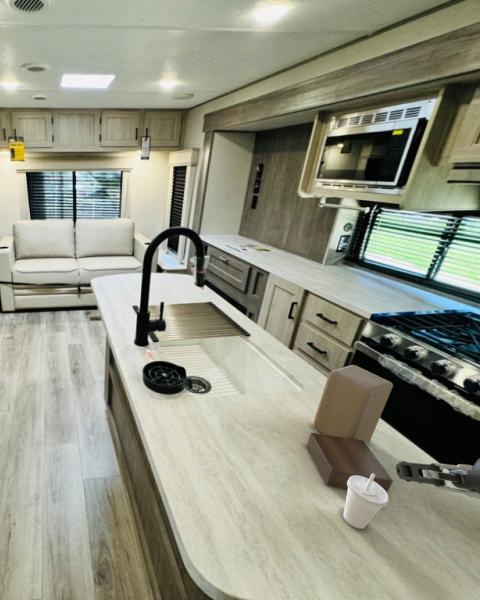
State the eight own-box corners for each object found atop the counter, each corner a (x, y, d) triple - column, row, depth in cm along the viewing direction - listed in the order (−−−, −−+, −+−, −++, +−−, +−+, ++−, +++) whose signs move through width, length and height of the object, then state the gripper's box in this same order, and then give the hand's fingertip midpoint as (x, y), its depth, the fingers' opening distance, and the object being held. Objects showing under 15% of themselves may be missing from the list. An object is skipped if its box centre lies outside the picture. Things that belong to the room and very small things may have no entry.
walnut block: (357, 454, 83) (363, 440, 81) (385, 496, 72) (393, 480, 71) (306, 446, 86) (310, 432, 84) (326, 485, 75) (332, 470, 73)
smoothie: (329, 512, 69) (347, 466, 64) (346, 501, 72) (365, 455, 66) (362, 541, 64) (385, 493, 59) (380, 527, 66) (404, 480, 61)
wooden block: (334, 418, 96) (353, 362, 88) (371, 442, 87) (396, 383, 79) (310, 426, 93) (328, 370, 85) (346, 452, 84) (369, 391, 77)
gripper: (625, 467, 34) (482, 459, 49) (461, 444, 38) (373, 442, 52) (662, 550, 31) (499, 515, 46) (482, 516, 35) (383, 494, 49)
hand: (432, 476), depth 49 cm, fingers open, 8 cm apart
